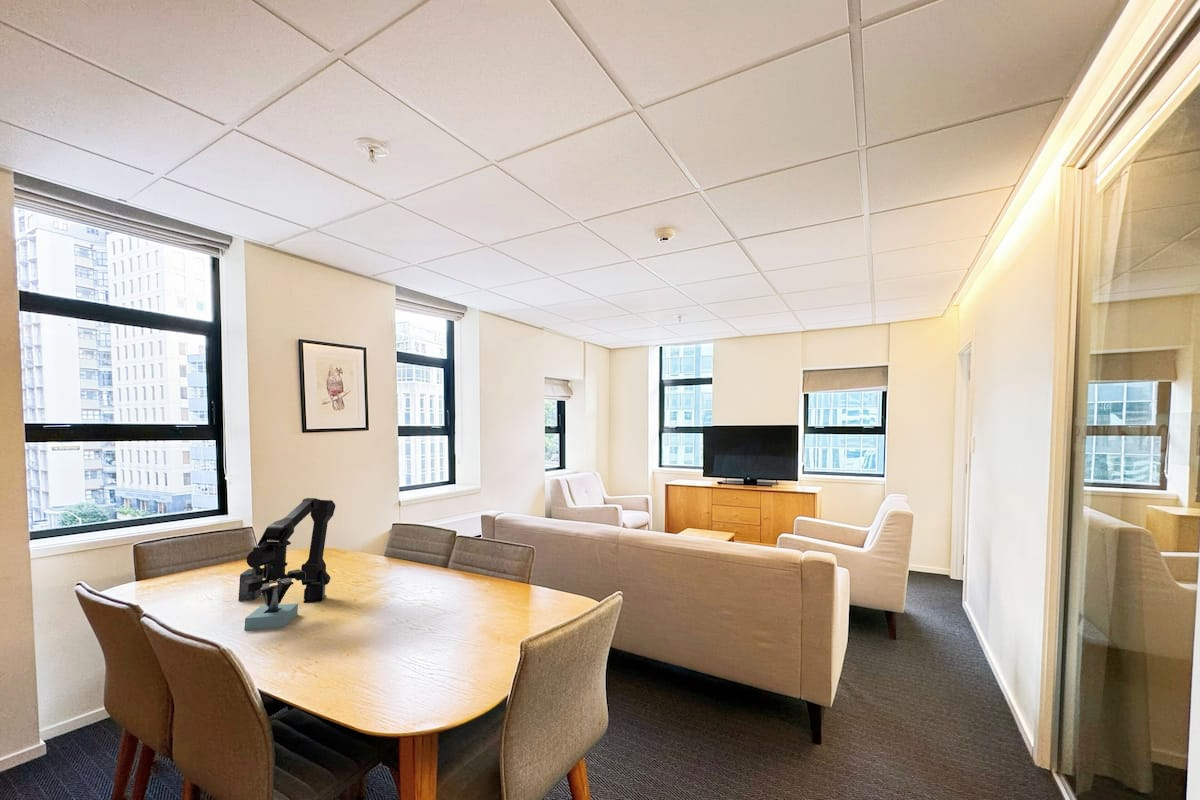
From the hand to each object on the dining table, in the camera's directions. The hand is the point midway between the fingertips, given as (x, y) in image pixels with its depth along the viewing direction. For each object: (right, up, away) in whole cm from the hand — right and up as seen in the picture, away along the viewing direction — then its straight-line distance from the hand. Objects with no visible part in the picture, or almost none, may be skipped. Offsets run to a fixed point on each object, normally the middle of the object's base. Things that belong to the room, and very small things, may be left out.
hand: (273, 604), depth 167 cm
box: (-26, -8, +24) cm, 36 cm away
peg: (0, -4, 0) cm, 4 cm away
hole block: (0, -6, -1) cm, 6 cm away
